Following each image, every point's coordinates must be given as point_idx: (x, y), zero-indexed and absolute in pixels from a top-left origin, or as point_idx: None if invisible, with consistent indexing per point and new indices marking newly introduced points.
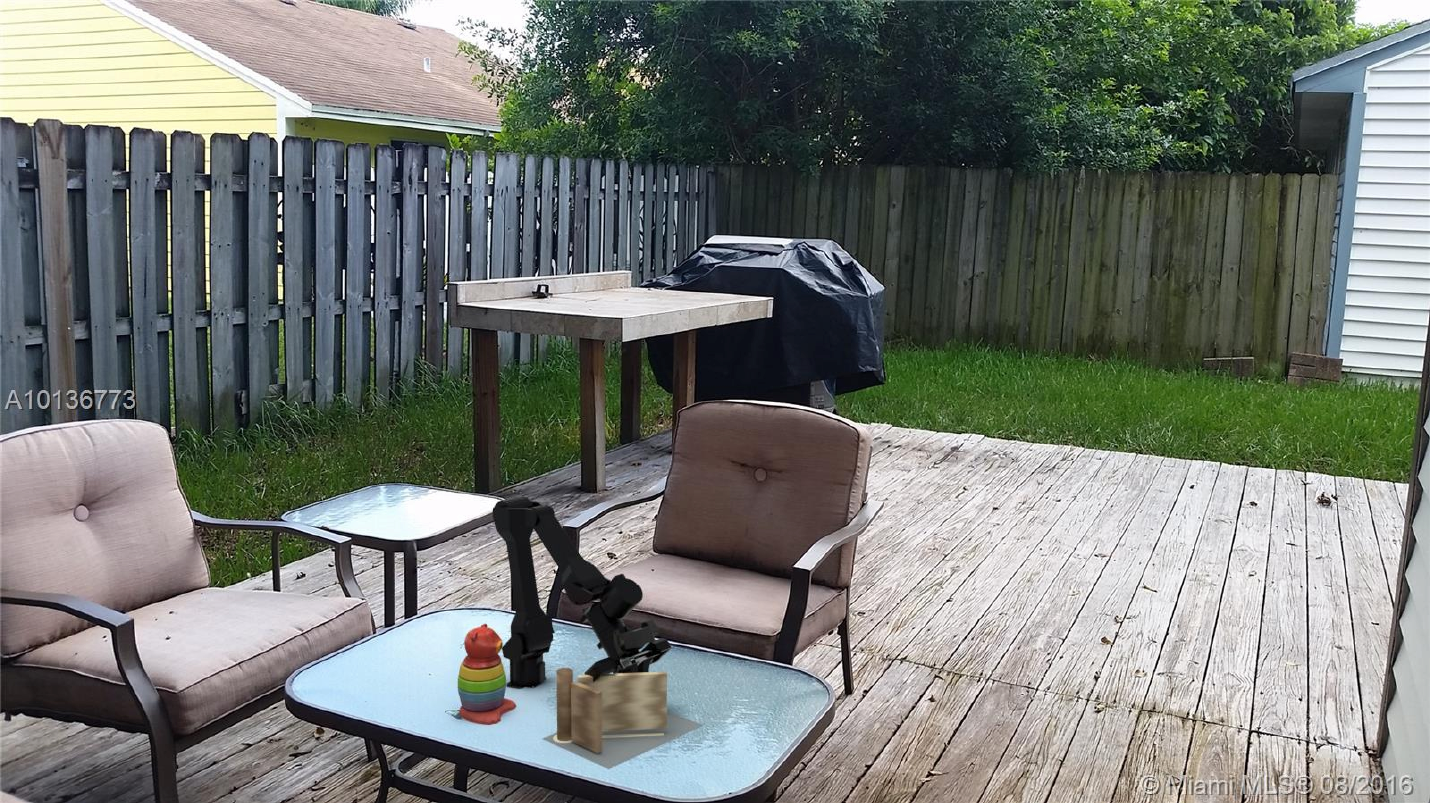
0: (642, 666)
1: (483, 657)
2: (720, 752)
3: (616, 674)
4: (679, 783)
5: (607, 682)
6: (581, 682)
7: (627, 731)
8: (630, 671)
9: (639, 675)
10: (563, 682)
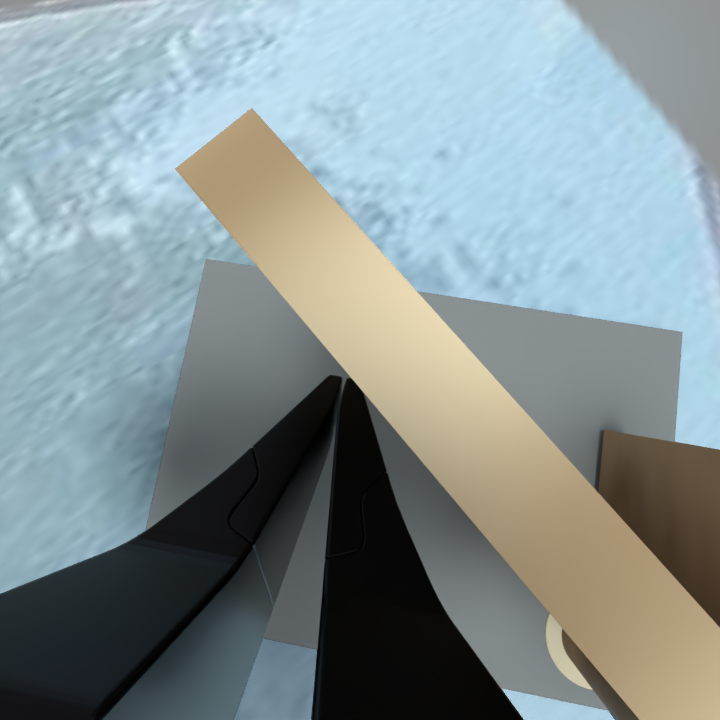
0: (192, 627)
1: None
2: (339, 125)
3: None
4: (587, 112)
5: None
6: None
7: (400, 458)
8: (496, 682)
9: (539, 433)
10: None
